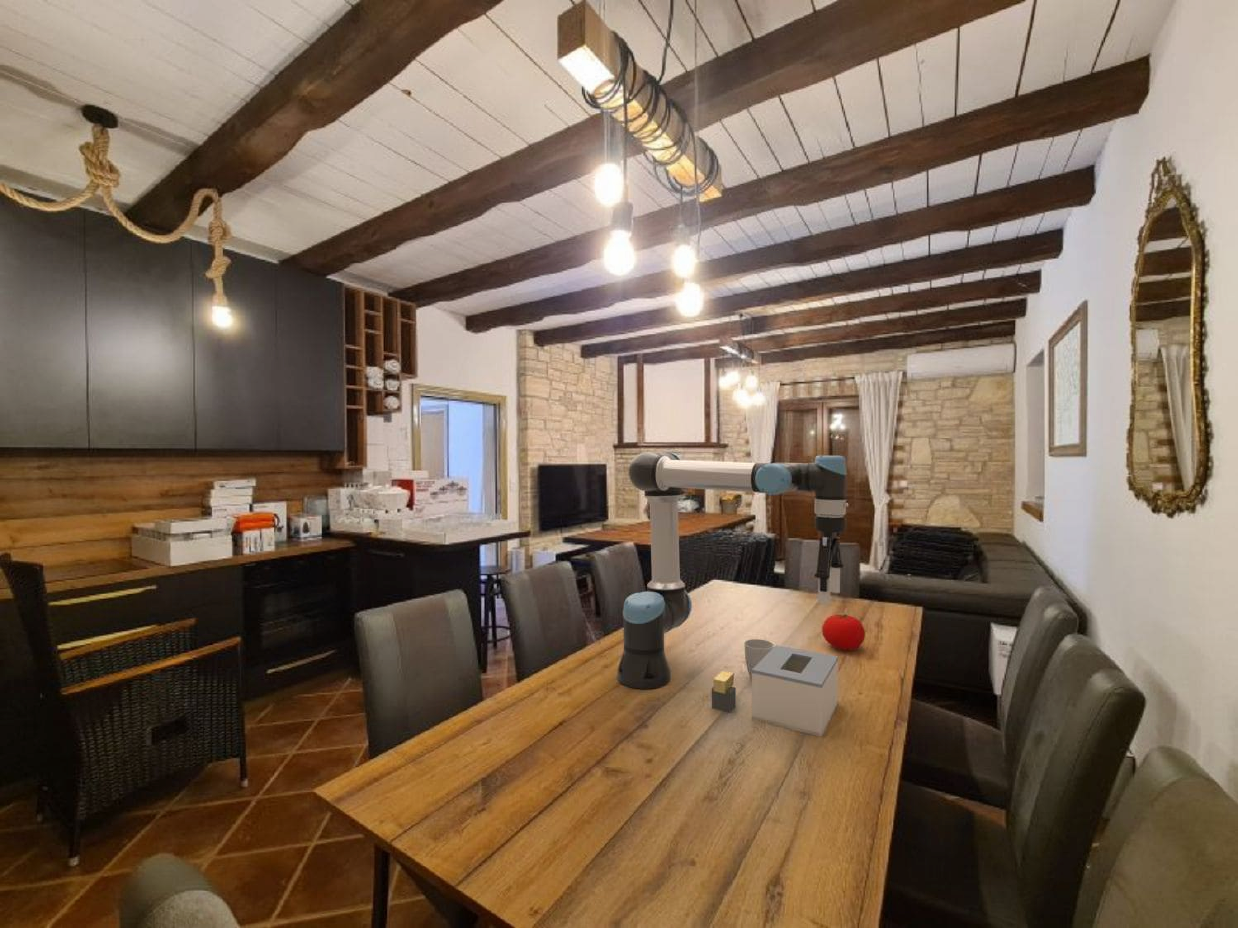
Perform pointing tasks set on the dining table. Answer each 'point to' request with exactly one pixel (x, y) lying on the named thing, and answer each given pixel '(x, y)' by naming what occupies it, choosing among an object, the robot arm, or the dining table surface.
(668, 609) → the robot arm
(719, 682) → the yellow wooden brick
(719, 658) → the dining table surface
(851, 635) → the tomato
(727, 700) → the block
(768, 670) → the box
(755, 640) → the cup
